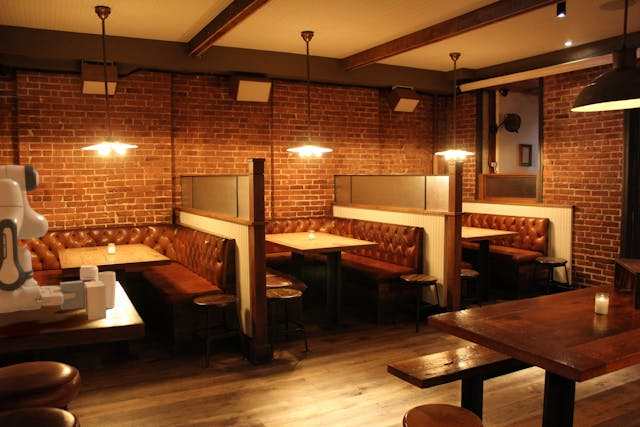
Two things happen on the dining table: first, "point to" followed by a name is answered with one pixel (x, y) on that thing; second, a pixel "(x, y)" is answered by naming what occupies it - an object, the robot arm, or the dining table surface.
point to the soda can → (86, 279)
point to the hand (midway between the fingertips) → (74, 293)
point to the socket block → (95, 300)
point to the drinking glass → (108, 287)
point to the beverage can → (89, 271)
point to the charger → (79, 292)
